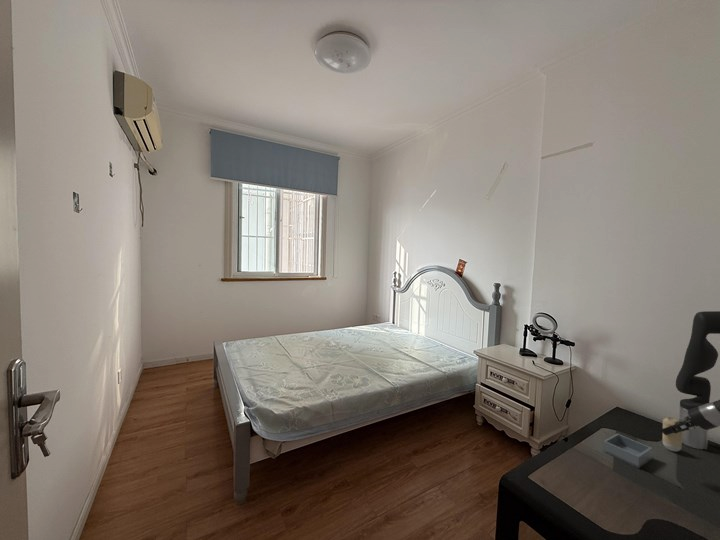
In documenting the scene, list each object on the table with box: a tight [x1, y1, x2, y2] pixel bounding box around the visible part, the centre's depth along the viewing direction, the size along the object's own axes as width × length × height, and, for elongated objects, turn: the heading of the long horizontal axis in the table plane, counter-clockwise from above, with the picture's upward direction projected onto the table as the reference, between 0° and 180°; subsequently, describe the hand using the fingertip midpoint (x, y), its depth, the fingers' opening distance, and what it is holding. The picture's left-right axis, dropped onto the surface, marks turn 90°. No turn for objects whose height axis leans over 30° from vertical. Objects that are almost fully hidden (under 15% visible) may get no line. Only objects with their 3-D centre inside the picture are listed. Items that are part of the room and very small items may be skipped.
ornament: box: [662, 435, 685, 452], centre depth 136 cm, size 6×7×10 cm
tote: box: [602, 433, 653, 469], centre depth 133 cm, size 14×13×5 cm
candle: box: [662, 417, 683, 447], centre depth 121 cm, size 6×6×10 cm
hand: (666, 430), depth 123 cm, fingers closed on candle, 5 cm apart
